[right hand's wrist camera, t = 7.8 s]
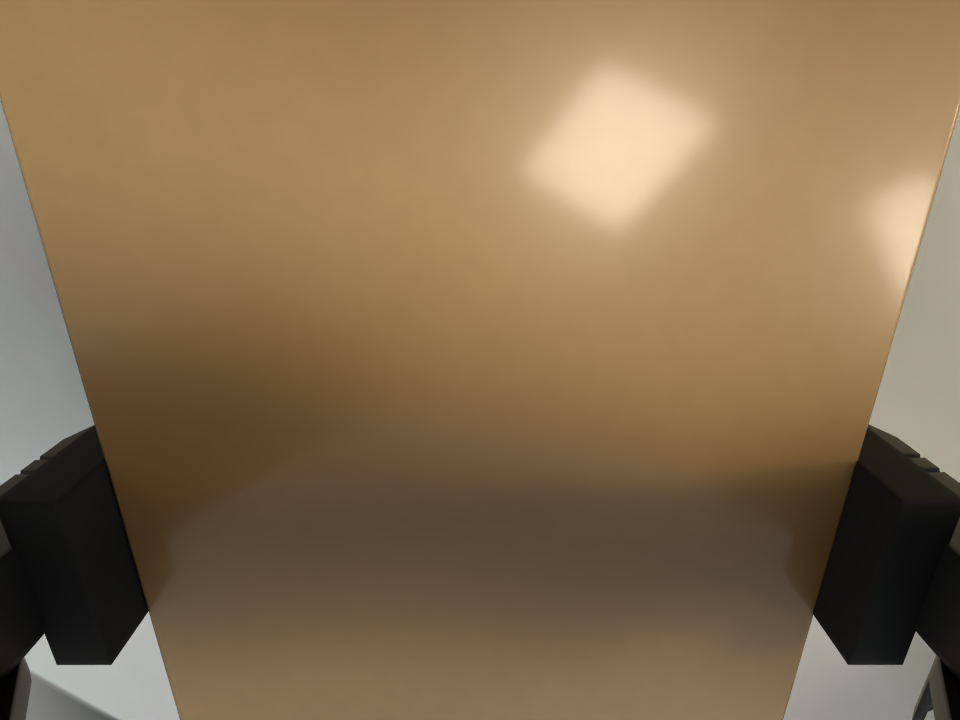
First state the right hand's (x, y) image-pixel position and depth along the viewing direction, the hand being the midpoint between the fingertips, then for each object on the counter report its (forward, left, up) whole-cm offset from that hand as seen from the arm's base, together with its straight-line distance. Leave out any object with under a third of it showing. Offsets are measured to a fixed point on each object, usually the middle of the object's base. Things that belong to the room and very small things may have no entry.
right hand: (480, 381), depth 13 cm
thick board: (+3, -26, -1) cm, 26 cm away
